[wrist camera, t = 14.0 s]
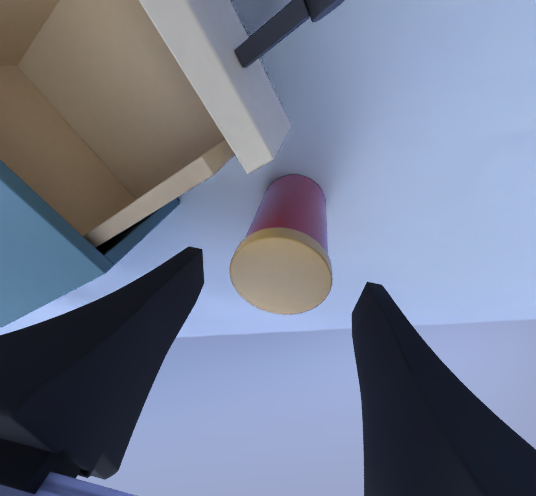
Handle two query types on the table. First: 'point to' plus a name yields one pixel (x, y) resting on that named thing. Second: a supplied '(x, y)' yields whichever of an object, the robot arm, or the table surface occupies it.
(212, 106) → the drawer
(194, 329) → the table surface
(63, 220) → the cabinet
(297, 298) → the tea tin
